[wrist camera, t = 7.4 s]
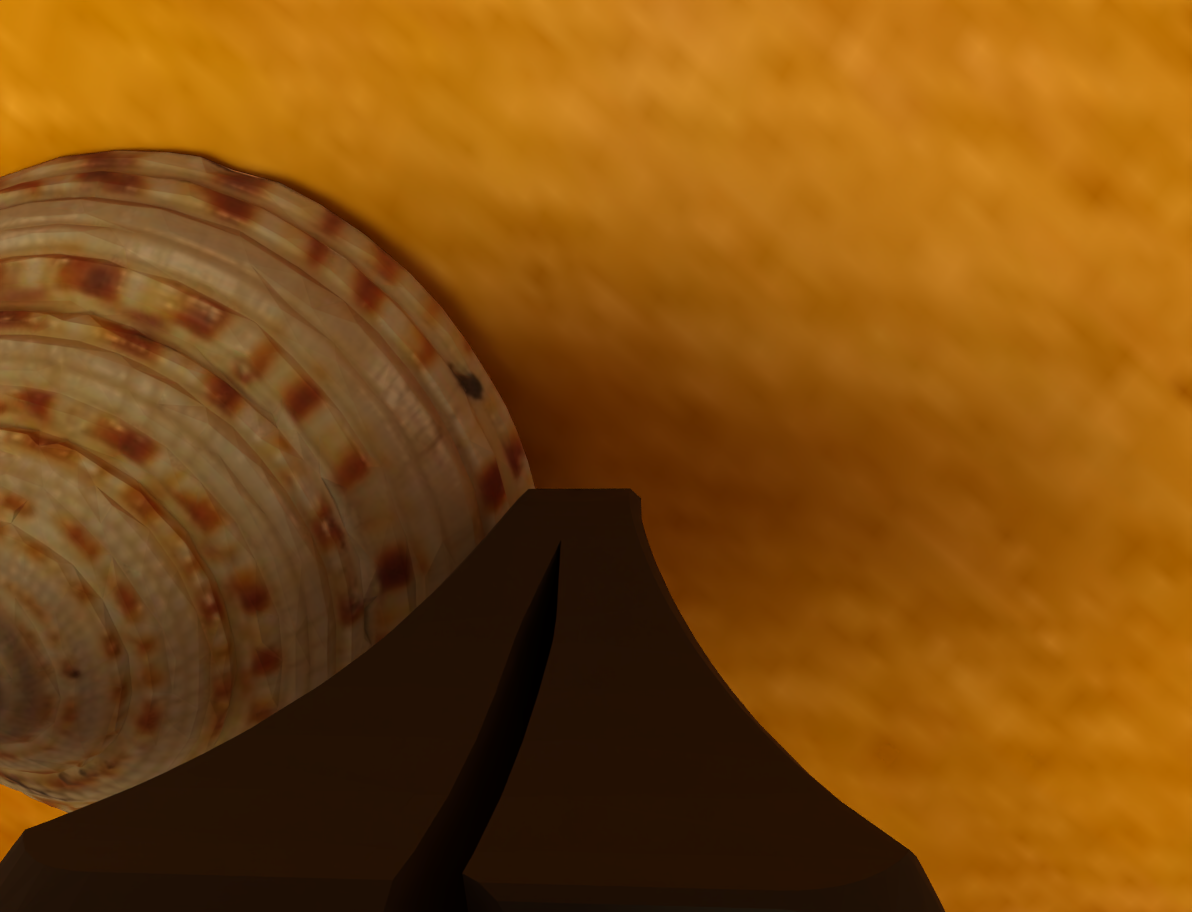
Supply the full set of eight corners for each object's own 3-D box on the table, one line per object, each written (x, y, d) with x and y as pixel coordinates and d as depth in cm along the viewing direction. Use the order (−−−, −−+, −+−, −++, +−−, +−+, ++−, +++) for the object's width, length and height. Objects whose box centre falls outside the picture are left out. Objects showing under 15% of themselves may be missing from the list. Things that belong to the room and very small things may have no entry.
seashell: (165, 971, 15) (-525, 775, 10) (208, 624, 19) (-275, 339, 14) (698, 779, 13) (179, 375, 7) (629, 422, 17) (248, -23, 11)
